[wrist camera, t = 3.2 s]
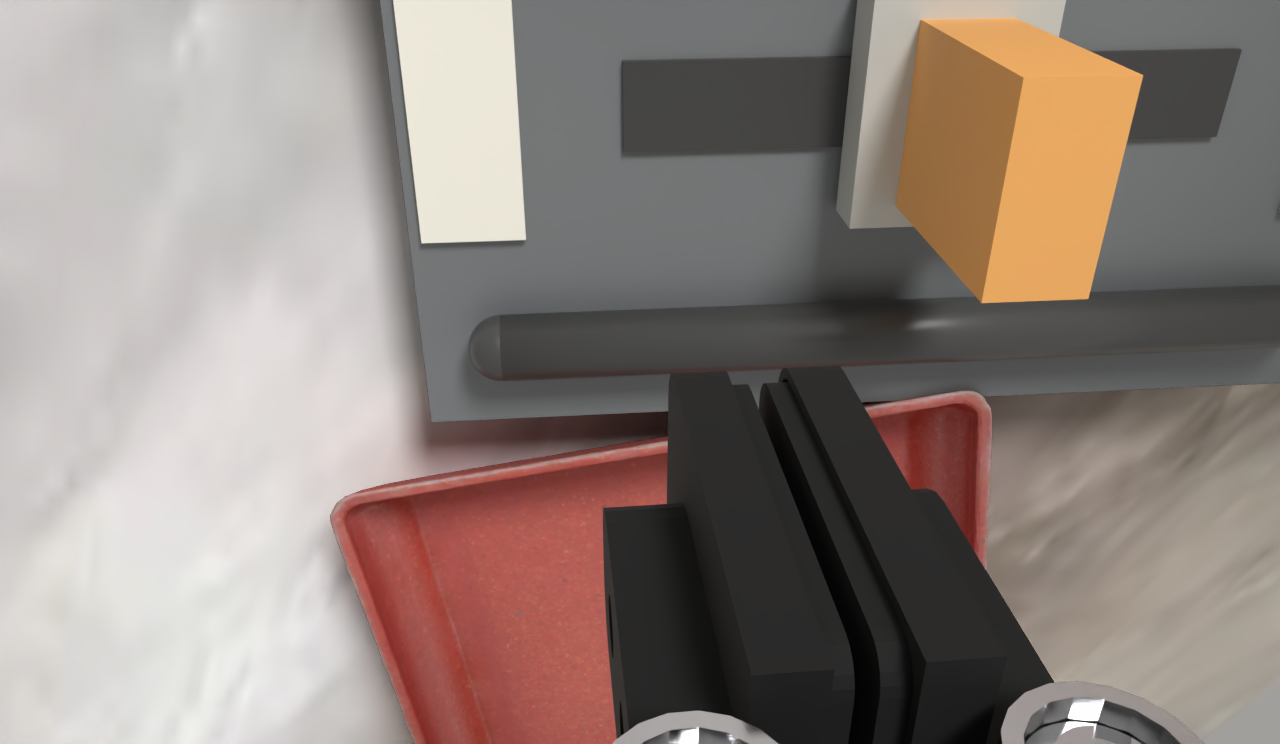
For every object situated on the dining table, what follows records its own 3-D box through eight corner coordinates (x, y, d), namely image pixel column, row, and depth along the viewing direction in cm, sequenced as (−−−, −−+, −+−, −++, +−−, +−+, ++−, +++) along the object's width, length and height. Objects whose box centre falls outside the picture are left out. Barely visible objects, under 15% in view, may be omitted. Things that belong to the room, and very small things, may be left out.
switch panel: (1482, -312, 22) (1666, -335, 18) (1256, 339, 30) (1354, 412, 26) (360, -322, 20) (321, -350, 16) (439, 374, 28) (425, 457, 24)
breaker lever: (1042, -18, 21) (1210, 42, 16) (1000, 204, 24) (1134, 321, 18) (859, -16, 21) (968, 47, 16) (835, 209, 23) (923, 330, 18)
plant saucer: (339, 437, 29) (317, 507, 26) (952, 332, 29) (997, 390, 26) (480, 827, 38) (475, 911, 35) (947, 746, 38) (980, 823, 35)
